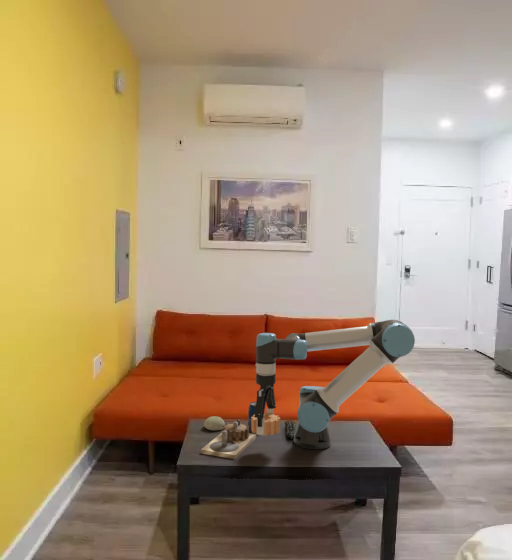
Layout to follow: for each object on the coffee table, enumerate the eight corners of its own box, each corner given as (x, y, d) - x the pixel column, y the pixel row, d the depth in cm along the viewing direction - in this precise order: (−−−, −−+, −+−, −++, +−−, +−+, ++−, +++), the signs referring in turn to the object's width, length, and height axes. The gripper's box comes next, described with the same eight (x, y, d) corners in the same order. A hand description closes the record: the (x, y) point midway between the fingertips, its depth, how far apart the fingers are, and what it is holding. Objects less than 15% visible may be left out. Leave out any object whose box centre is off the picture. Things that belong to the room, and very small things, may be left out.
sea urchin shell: (226, 420, 222) (225, 411, 216) (224, 437, 217) (222, 428, 211) (206, 419, 223) (204, 410, 217) (203, 435, 218) (201, 427, 212)
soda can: (245, 432, 213) (246, 404, 213) (251, 427, 220) (251, 400, 219) (260, 434, 211) (261, 406, 210) (265, 429, 217) (266, 402, 217)
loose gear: (283, 427, 195) (283, 415, 195) (275, 436, 184) (275, 423, 184) (256, 424, 198) (256, 412, 198) (247, 433, 188) (247, 420, 188)
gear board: (256, 437, 207) (256, 420, 206) (235, 459, 184) (235, 439, 184) (225, 433, 211) (225, 415, 211) (200, 453, 188) (201, 434, 188)
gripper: (266, 366, 203) (265, 419, 204) (246, 379, 181) (245, 438, 182) (283, 368, 200) (283, 421, 201) (265, 381, 178) (265, 441, 179)
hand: (265, 429), depth 191 cm, fingers closed on loose gear, 11 cm apart
